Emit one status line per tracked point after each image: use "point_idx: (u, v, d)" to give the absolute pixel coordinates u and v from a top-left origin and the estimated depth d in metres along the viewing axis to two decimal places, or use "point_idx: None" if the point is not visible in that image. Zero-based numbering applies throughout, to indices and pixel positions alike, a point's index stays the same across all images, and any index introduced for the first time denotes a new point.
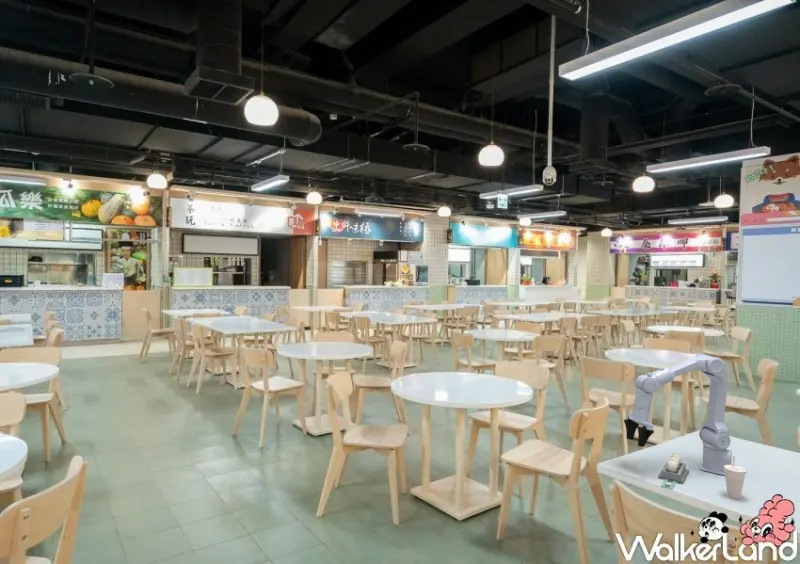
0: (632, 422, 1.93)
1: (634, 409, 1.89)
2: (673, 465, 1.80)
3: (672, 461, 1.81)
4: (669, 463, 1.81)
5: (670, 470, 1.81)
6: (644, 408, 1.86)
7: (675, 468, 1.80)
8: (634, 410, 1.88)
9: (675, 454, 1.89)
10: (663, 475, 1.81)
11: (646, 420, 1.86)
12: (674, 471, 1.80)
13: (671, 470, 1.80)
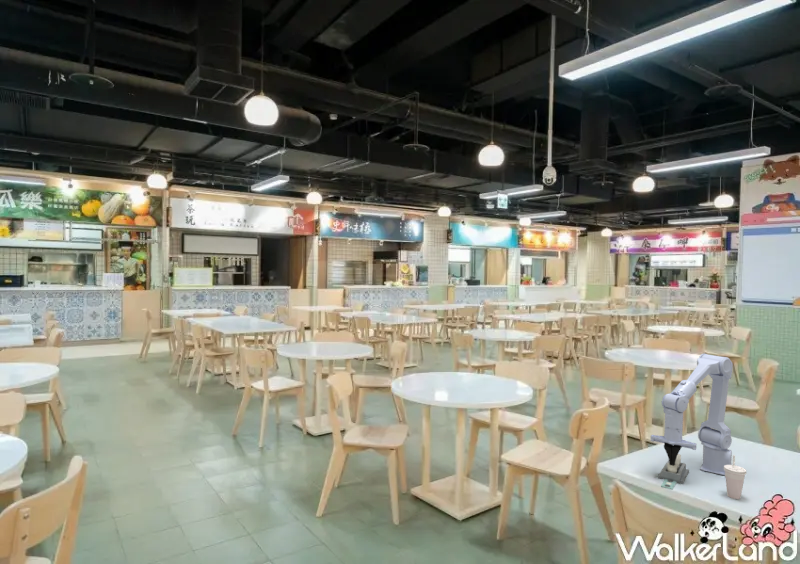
0: (672, 446, 1.81)
1: (672, 432, 1.79)
2: (673, 468, 1.80)
3: None
4: (669, 466, 1.81)
5: None
6: (679, 429, 1.79)
7: (675, 471, 1.80)
8: (672, 433, 1.79)
9: None
10: (663, 475, 1.81)
11: None
12: None
13: None
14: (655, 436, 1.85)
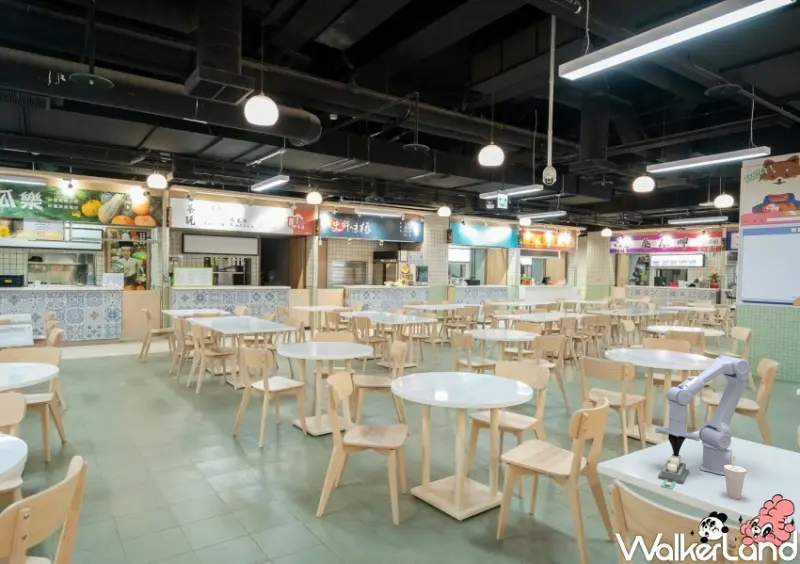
0: (676, 438, 1.88)
1: (676, 424, 1.86)
2: (673, 468, 1.80)
3: (672, 464, 1.81)
4: (669, 466, 1.81)
5: None
6: (681, 421, 1.85)
7: (675, 471, 1.80)
8: (676, 425, 1.86)
9: None
10: (663, 475, 1.81)
11: None
12: None
13: None
14: (660, 428, 1.92)
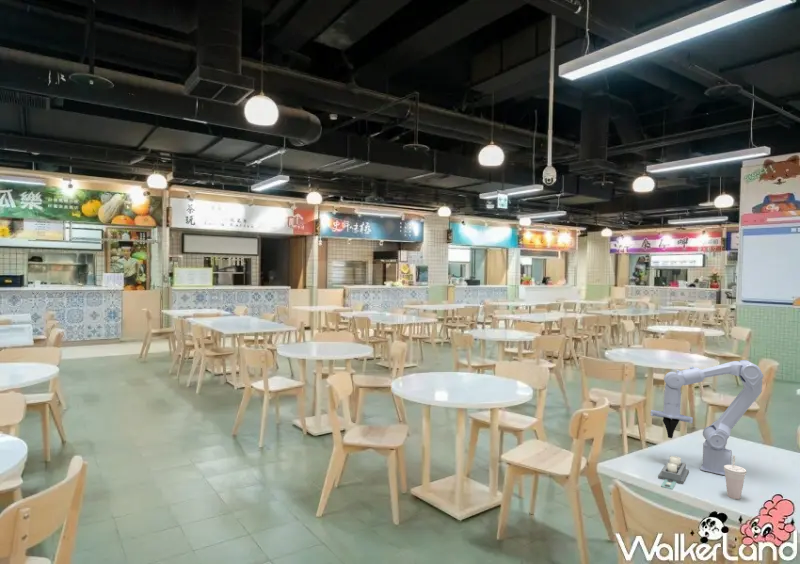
0: (670, 420, 1.96)
1: (670, 407, 1.94)
2: (673, 468, 1.80)
3: (672, 464, 1.81)
4: (669, 466, 1.81)
5: None
6: (671, 403, 1.94)
7: (675, 471, 1.80)
8: (671, 408, 1.94)
9: None
10: (663, 475, 1.81)
11: None
12: None
13: None
14: (655, 411, 2.00)
